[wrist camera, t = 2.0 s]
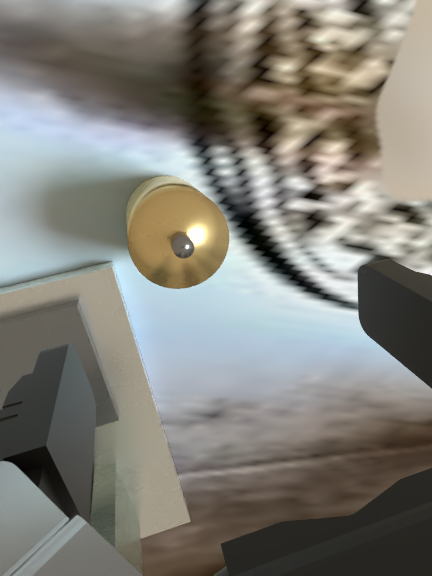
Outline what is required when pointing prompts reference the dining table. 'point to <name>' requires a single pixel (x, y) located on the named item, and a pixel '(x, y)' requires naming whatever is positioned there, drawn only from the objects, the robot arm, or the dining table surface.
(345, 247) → the dining table surface
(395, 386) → the dining table surface
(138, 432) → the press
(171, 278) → the cylinder
